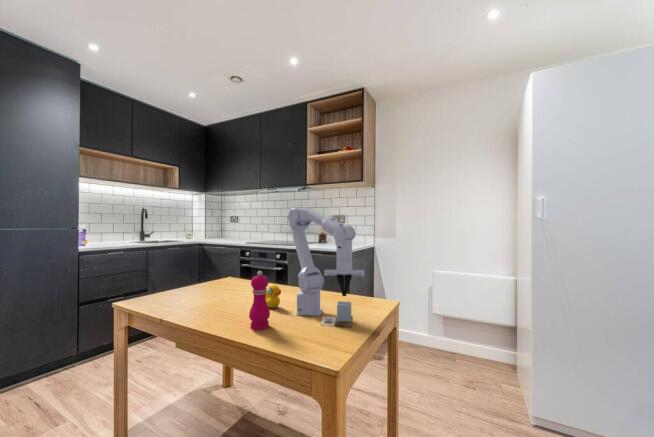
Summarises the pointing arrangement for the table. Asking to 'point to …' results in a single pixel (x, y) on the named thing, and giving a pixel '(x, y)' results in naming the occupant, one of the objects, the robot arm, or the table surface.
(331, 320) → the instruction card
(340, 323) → the base brick
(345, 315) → the gray brick
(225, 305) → the table surface
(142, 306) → the table surface
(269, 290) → the duckling
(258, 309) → the pepper mill
